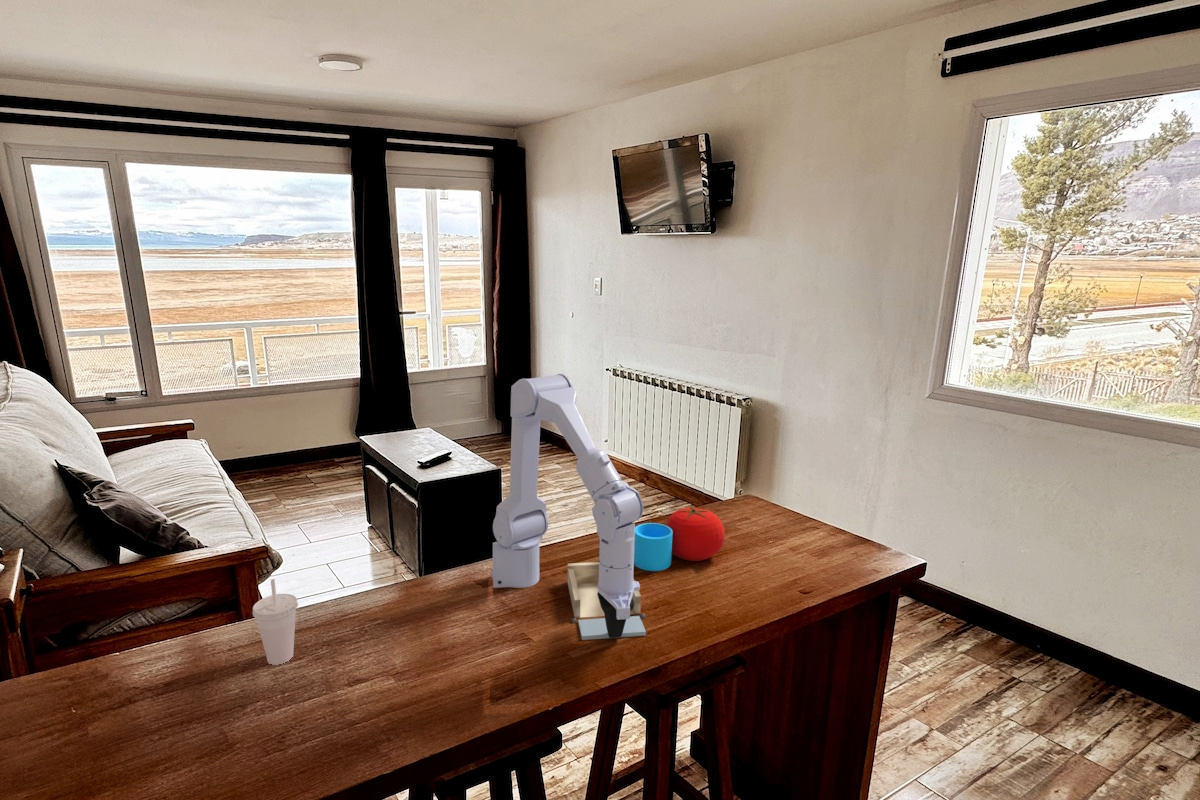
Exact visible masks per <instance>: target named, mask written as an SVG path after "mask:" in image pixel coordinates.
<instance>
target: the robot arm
mask: <svg viewBox="0 0 1200 800" xmlns="http://www.w3.org/2000/svg"><path fill="white" fill-rule="evenodd" d="M510 390H511V391H510V415H509V416H510V417H511V436H510V437H511V438H510V440H511V441H510V467H509V469H510V470H509V493H508V495H507V496H506V497H505V498H504V499H503V500H502V501H501V502H500V503H499V504H498V505H497V506H496V512H495V517H494V519H493V521H492V522H493V523H492V533H493V536H494V537H495V539H496V541H495V542H492V569H491V579H492V587H493V588H495V589H498V588H518V589H523V588H528V587H529V588H530V587H533V586H535V585H536V584H538V582H539V581H540V543H541V541H543V535H545V534H546V533H547V531H548V529H549V516H548V514H547V503H546V502H545V500H543V499H542V497H540V496H538V483H539V463H540V462H539V461H540V437H541V423H542V422H541V421H546V422H548V423H549V422H550V423H554V425H555V426H556V427H557V428H558V431H559V432H560V434H561V435H562V436H563V438H564V439H565V441H566V443H567V444H568V446H569V447H570V449H571V450H572V452H573V453H574V455H575V456H576V457H577V462H576V465H575V470H576V472H577V473H578V475H579V478H580V479H581V481H582V483H583V484H584V487H585V489H586V490H587V492H588V493H589V496H590V497H591V499H592V501H593V502H594V506H593V507H591V511H592V517H593V519H594V521H595V525H596V533H597V536H598V538H599V553H598V556H599V557H598V559H599V560H598V562H599V582H598V585H597V589H598V593H597V595H598V598H599V602H600V605H601V608H602V610H603V612H604V615H605V616H604V618H605V621H606V627H607V631H608V635H609V638H608V639H616V638H615V637H619V638H622V637H621V636H622V633H623V629H624V626H625V622H626V619H630V616H631V615H630V612H631V610H632V609H633V607H634V601H633V599H632V596H633V592H634V591H638V590H639V591H640V589H641V584H640V582H639V581H637V580H635V581H633V578H634V569H635V568H634V567H635V565H634V542H635V527H636V522H637V521H639V520H640V519H641V518H642V516H643V514H644V503H643V499H642V498H641V495H640V492H639V491H638V490H637V489H636V488H634V487H632V486H630V485H629V484H628V482H626V481H623V480H622V478H621V477H620V475H619V473H618V471H617V469H616V468H615V466H614V464H613V462H612V460H611V459H610V457H609V455H608V453H607V452H606V451H605V450H603V449H599V448H596V446H595V443H594V442H593V438H592V437H591V435H590V433H589V431H588V429H587V427H586V425H585V421H584V420H583V418H582V416H581V414H580V412H579V410H578V407H577V405H576V403H577V398H578V394H577V393H578V392H577V390H576V388H575V387H574V385H573V382H572V381H571V379H570V378H569V376H568V375H566V374H564V373H557V374H556V375H555V374H553V375H546V376H540V377H532V378H521V379H518V380H517V381H516V382H515V383H513V384H512V385H511V389H510Z"/></svg>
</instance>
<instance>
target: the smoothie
mask: <svg viewBox="0 0 1200 800" xmlns="http://www.w3.org/2000/svg"><path fill="white" fill-rule="evenodd" d="M270 586H271V587H270V588H271V595H269V596H266V597H264V598H261V599H260V600H258V601H257V602H255V603H254V605H253V606H252V616H253V617H254V618H255V619H256V623H257V626H258V630H259V634H260V637H261V641H262V645H263V649H264V654H265V658H266V661H267V663H268V664H269V665H270V664H272V665H271V666H280V665H279V664H281V665H284V664H286V663H285V662H287V661H288V662H290V661H291V660H292V659H293V658H294V651H295V649H294V648H295V647H294V646H295V632H296V631H295V630H296V611H297V608H298V605H299V603H298V597H296V596H295V595H294V594H291V593H277V589H276V588H277V587H276V579H275V578H273V579H270ZM292 657H293V658H292ZM291 658H292V659H291ZM290 659H291V660H290ZM289 660H290V661H289ZM288 662H287V663H288ZM283 663H284V664H283Z"/></svg>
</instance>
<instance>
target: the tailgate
mask: <svg viewBox="0 0 1200 800" xmlns="http://www.w3.org/2000/svg"><path fill="white" fill-rule="evenodd" d="M577 623H578V627H579V632H580V638H581V640H582V641H590V640H601V639H603V640H605V639H610V638H609V635H608V631H607V627H606V621H605V617H600V618H587V619H586V618H585V619H584V618H583V619H578V621H577ZM646 635H647V631H646V629H645V626H644V623H643V621H642V619H641V617H640V615H633V616H631V615H630V619H626V622H625V626H624V629H623V633H622V636H621V637H615V638H614V639H616V638H617V639H618V638H629V637H630V638H631V637H644V636H646Z"/></svg>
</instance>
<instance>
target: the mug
mask: <svg viewBox="0 0 1200 800" xmlns="http://www.w3.org/2000/svg"><path fill="white" fill-rule="evenodd" d="M672 536H673V531H672V529H671V528H669V527H668V526H666V524H661V523H655V522H646V523H641V524H638V525H635V542H634V567H637V568H639V569H641V570H645V571H648V572H649V571H650V572H659V571H664V570H666V569H668V568H670V567H671V565H672V556H673V553H672Z"/></svg>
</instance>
